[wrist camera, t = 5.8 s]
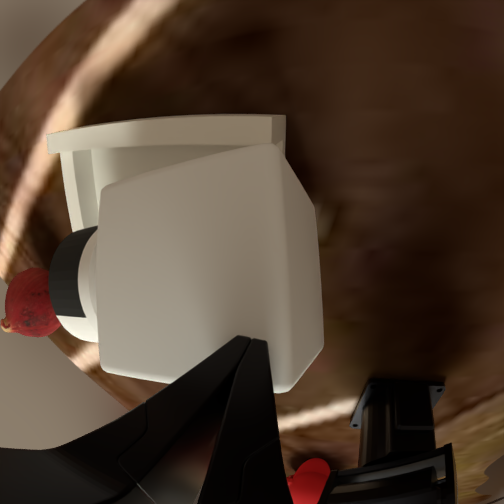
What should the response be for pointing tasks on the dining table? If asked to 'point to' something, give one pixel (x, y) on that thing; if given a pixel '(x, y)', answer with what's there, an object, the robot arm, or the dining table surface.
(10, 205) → the dining table surface
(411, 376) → the dining table surface
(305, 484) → the cap
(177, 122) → the cradle
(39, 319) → the red rounded lump
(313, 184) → the dining table surface
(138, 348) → the medicine bottle
